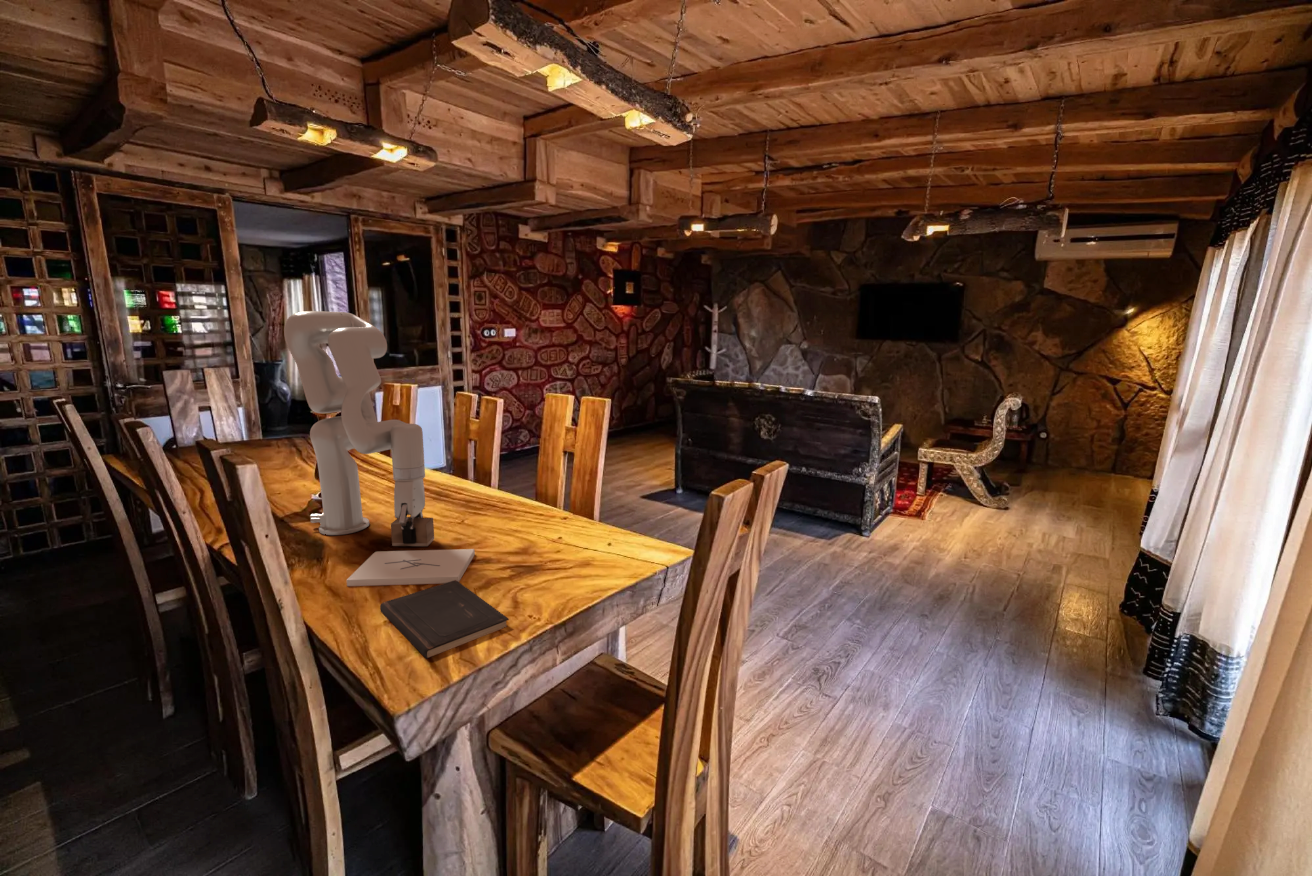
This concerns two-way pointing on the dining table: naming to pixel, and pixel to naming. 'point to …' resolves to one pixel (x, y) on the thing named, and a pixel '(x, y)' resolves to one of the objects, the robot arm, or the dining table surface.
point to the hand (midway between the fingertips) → (413, 538)
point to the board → (412, 567)
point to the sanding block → (422, 532)
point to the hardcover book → (442, 617)
